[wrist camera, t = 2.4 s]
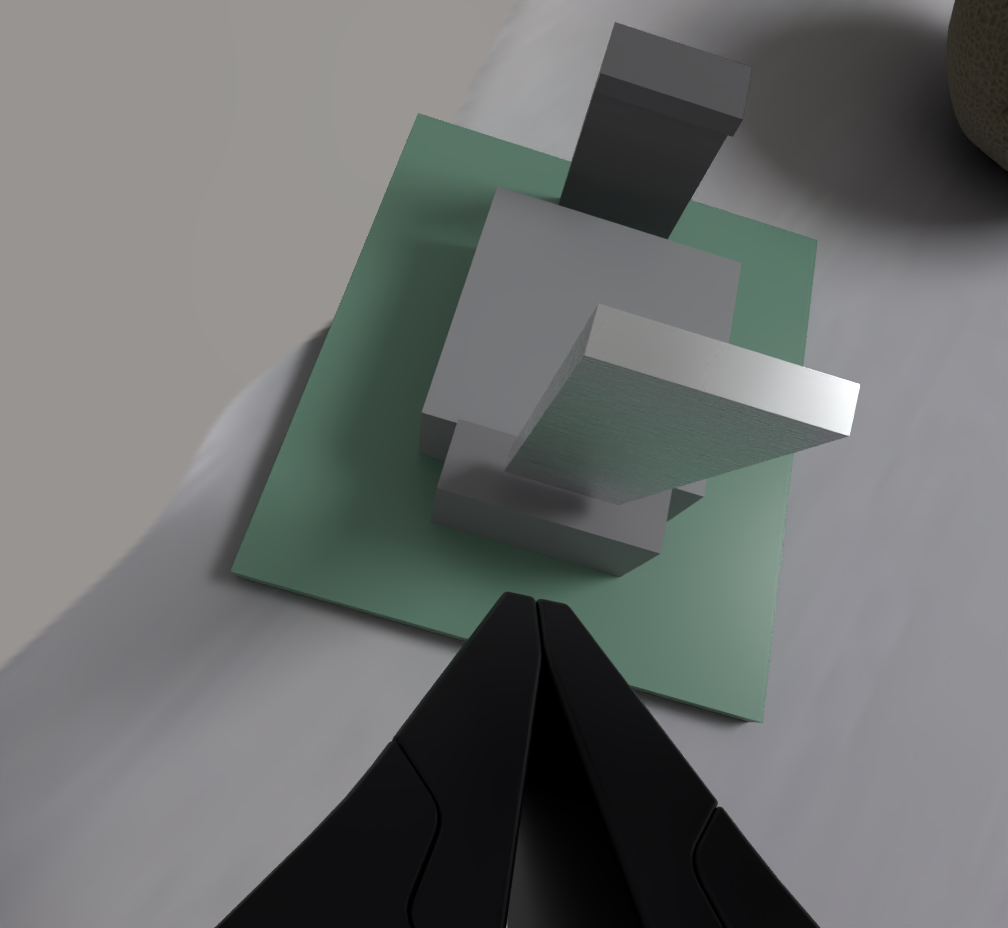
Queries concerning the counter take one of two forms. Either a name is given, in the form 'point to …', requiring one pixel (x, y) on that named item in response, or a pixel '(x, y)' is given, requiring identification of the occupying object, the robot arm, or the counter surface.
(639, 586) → the board
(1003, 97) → the cantaloupe
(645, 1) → the counter surface
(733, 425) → the light gray flat bar
